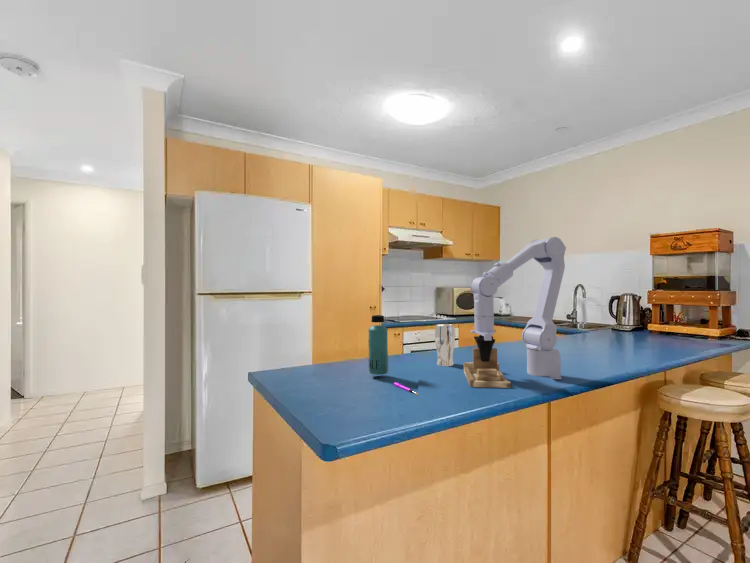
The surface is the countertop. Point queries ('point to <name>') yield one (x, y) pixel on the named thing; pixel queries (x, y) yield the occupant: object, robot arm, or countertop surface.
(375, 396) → the countertop surface
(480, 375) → the offcut top
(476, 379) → the offcut low
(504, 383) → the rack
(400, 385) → the pink paintbrush
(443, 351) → the beer glass
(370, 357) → the beverage bottle
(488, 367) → the tall board
